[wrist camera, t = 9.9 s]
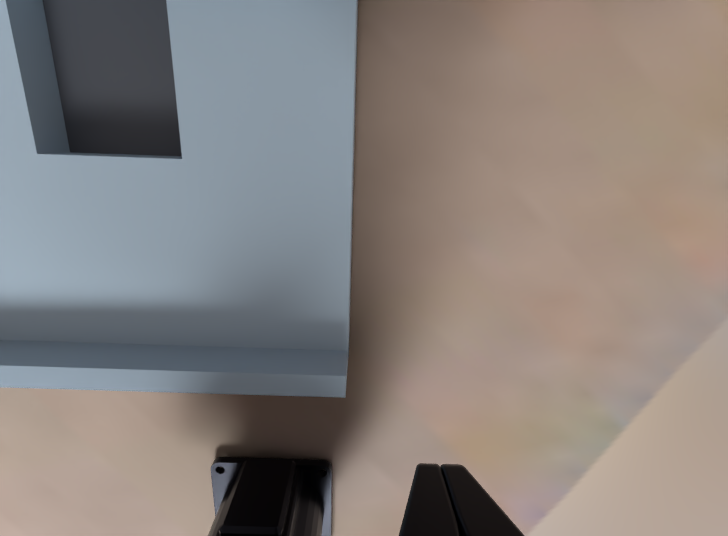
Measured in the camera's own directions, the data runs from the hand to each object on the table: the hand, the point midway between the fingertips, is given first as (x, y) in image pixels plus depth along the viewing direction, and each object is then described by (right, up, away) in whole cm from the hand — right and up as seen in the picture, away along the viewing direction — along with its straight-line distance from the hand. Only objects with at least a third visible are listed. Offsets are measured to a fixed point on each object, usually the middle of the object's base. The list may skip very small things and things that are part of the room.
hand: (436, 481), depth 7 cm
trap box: (-15, +8, +10) cm, 20 cm away
